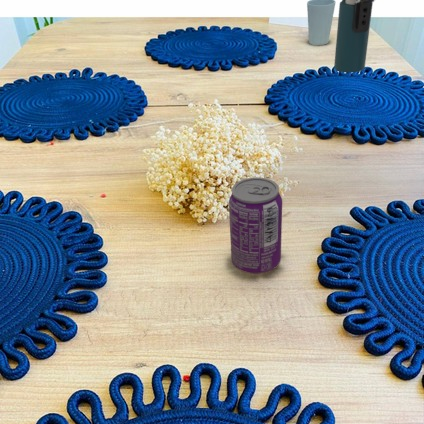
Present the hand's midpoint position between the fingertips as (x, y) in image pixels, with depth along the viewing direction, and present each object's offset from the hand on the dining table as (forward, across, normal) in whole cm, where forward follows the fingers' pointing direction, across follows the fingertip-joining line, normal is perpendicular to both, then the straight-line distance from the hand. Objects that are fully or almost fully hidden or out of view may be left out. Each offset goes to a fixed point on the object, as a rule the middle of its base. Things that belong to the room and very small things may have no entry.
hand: (353, 26), depth 78 cm
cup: (+25, +76, -19) cm, 82 cm away
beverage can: (+25, -22, +19) cm, 38 cm away
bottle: (+6, 0, 0) cm, 6 cm away
